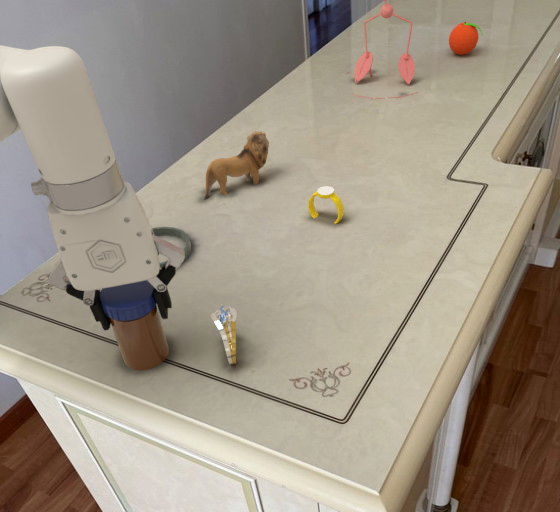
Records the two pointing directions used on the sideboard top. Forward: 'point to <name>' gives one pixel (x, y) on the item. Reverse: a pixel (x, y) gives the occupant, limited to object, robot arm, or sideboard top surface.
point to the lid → (128, 300)
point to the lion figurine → (239, 163)
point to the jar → (141, 340)
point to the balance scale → (365, 61)
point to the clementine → (463, 38)
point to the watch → (326, 193)
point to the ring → (227, 330)
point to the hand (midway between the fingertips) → (136, 316)
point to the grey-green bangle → (174, 232)
